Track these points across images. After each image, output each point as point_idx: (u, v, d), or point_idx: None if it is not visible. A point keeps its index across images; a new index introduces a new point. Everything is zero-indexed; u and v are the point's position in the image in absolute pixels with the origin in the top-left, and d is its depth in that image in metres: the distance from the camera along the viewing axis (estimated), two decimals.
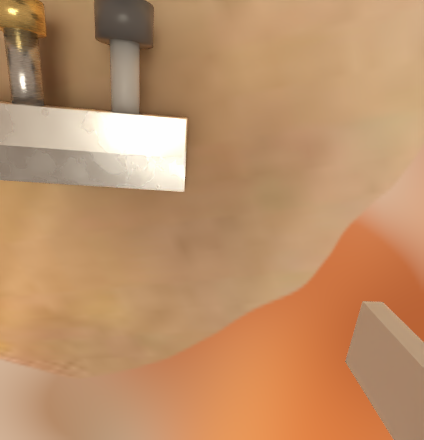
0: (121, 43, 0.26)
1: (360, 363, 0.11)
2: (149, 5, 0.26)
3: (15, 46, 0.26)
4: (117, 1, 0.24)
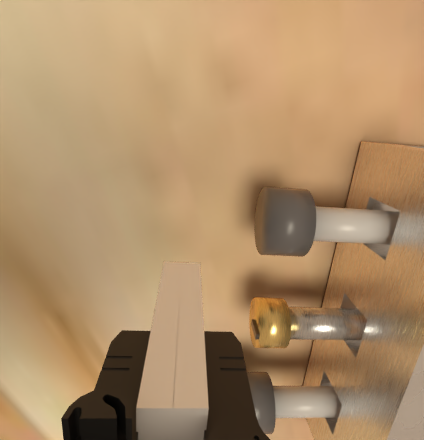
0: None
1: None
2: (272, 194, 0.21)
3: (303, 332, 0.24)
4: (279, 234, 0.20)
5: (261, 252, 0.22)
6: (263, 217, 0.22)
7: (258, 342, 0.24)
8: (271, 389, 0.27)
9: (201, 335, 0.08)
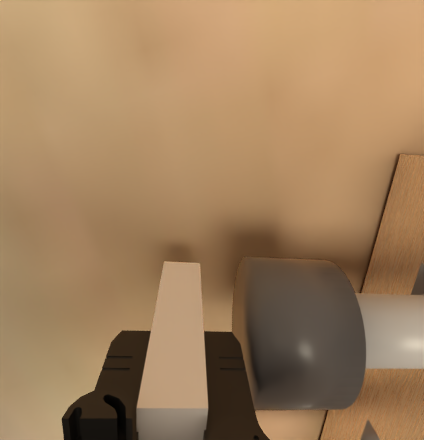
0: None
1: None
2: (264, 286, 0.09)
3: None
4: (279, 389, 0.08)
5: None
6: (245, 322, 0.11)
7: None
8: None
9: (201, 335, 0.08)
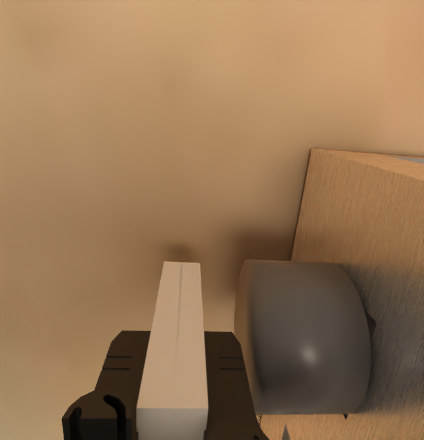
0: None
1: None
2: (267, 289, 0.09)
3: None
4: (283, 393, 0.08)
5: None
6: (248, 325, 0.10)
7: None
8: None
9: (201, 335, 0.08)
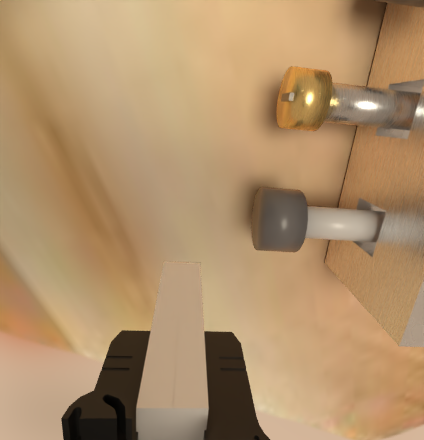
0: None
1: None
2: None
3: (345, 101, 0.20)
4: None
5: None
6: None
7: (292, 106, 0.20)
8: (302, 194, 0.23)
9: (201, 335, 0.08)
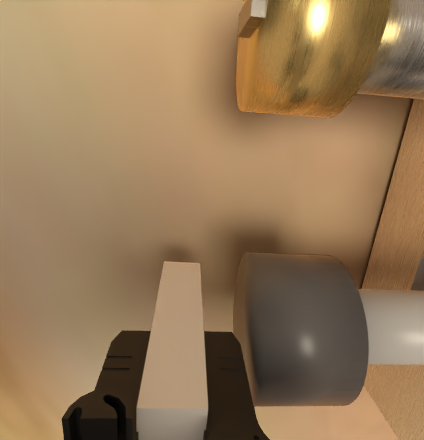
0: None
1: None
2: None
3: None
4: None
5: None
6: None
7: (263, 36, 0.06)
8: (348, 277, 0.09)
9: (201, 335, 0.08)
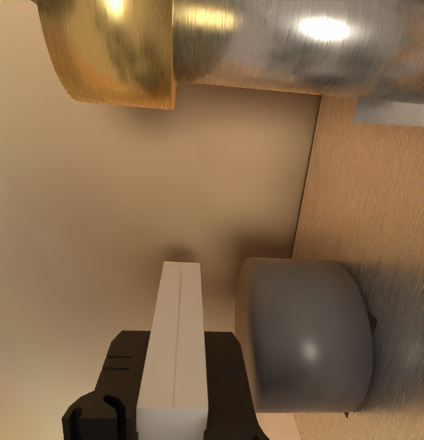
0: None
1: None
2: None
3: (239, 7, 0.06)
4: None
5: None
6: None
7: (43, 18, 0.06)
8: (352, 283, 0.09)
9: (201, 335, 0.08)
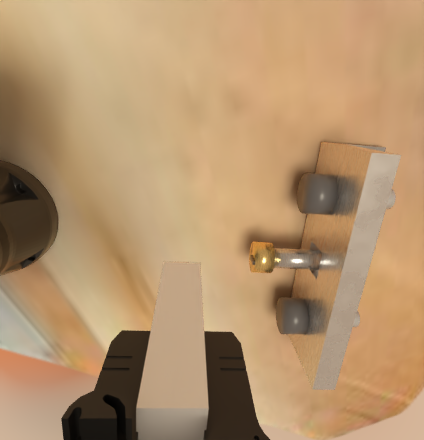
0: None
1: None
2: (312, 176, 0.36)
3: (283, 262, 0.39)
4: (316, 199, 0.35)
5: (304, 211, 0.37)
6: (305, 191, 0.37)
7: (254, 267, 0.38)
8: (305, 305, 0.42)
9: (201, 335, 0.08)
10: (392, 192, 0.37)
